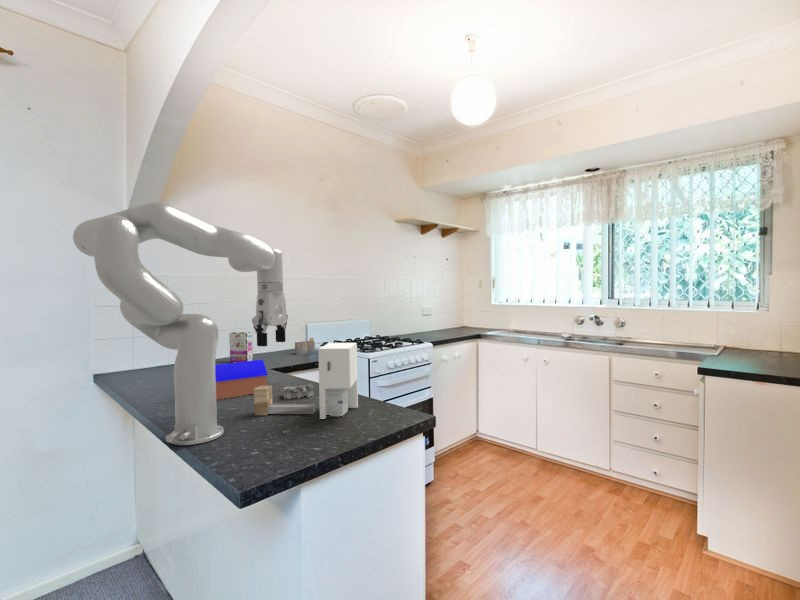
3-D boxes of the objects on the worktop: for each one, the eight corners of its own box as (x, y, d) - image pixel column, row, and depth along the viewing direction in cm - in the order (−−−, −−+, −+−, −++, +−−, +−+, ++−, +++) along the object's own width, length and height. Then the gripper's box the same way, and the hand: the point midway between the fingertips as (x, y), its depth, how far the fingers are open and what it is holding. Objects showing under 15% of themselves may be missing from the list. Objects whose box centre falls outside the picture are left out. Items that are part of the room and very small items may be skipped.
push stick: (311, 415, 120) (311, 388, 120) (254, 415, 121) (253, 388, 121) (315, 411, 124) (314, 385, 124) (259, 411, 125) (259, 385, 125)
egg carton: (283, 401, 137) (282, 389, 137) (282, 395, 144) (282, 384, 144) (314, 398, 140) (314, 386, 140) (312, 392, 148) (312, 381, 148)
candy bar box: (253, 361, 216) (252, 331, 216) (247, 363, 211) (246, 332, 211) (236, 361, 219) (235, 331, 219) (229, 362, 214) (228, 332, 214)
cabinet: (350, 420, 115) (348, 348, 114) (319, 420, 115) (317, 349, 115) (358, 406, 128) (356, 342, 128) (330, 406, 129) (328, 342, 128)
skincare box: (323, 416, 119) (322, 391, 119) (329, 410, 125) (329, 386, 125) (343, 416, 118) (342, 392, 118) (348, 410, 124) (348, 387, 124)
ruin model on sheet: (313, 353, 247) (313, 337, 247) (314, 353, 244) (314, 337, 244) (294, 354, 242) (294, 338, 241) (296, 355, 239) (295, 339, 239)
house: (203, 395, 147) (202, 363, 147) (259, 386, 159) (258, 357, 158) (209, 402, 137) (208, 368, 137) (268, 392, 149) (267, 361, 149)
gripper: (264, 288, 114) (265, 348, 115) (295, 288, 131) (297, 340, 131) (241, 289, 116) (243, 347, 117) (275, 288, 133) (277, 340, 133)
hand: (271, 344), depth 124 cm, fingers open, 9 cm apart
